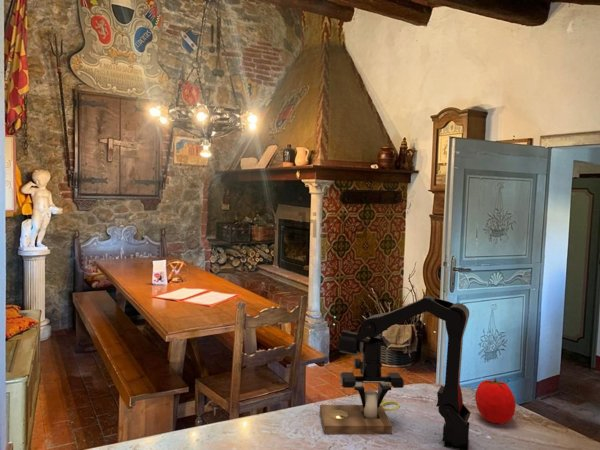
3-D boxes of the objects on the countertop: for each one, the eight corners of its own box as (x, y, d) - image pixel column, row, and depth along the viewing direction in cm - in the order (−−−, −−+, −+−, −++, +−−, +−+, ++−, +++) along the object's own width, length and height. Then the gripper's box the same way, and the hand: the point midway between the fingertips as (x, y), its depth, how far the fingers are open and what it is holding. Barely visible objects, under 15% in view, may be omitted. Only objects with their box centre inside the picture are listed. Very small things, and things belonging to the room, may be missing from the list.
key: (370, 396, 167) (371, 390, 166) (402, 407, 159) (402, 401, 158) (359, 402, 161) (359, 396, 161) (391, 414, 153) (391, 408, 153)
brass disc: (350, 412, 147) (350, 412, 147) (344, 420, 141) (344, 420, 141) (332, 409, 149) (332, 408, 149) (325, 417, 144) (325, 416, 144)
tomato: (504, 434, 141) (506, 390, 140) (466, 418, 150) (468, 378, 149) (522, 423, 148) (524, 381, 147) (485, 409, 158) (487, 370, 157)
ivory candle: (378, 416, 147) (379, 391, 147) (375, 422, 143) (376, 396, 143) (365, 414, 148) (366, 389, 148) (362, 419, 145) (363, 394, 144)
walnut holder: (381, 412, 153) (381, 405, 153) (391, 434, 139) (392, 425, 139) (319, 412, 152) (320, 404, 152) (324, 434, 138) (324, 425, 138)
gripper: (395, 349, 153) (394, 396, 154) (338, 348, 152) (337, 396, 153) (405, 360, 142) (403, 411, 143) (343, 360, 141) (341, 411, 142)
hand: (370, 407), depth 146 cm, fingers closed on ivory candle, 4 cm apart
